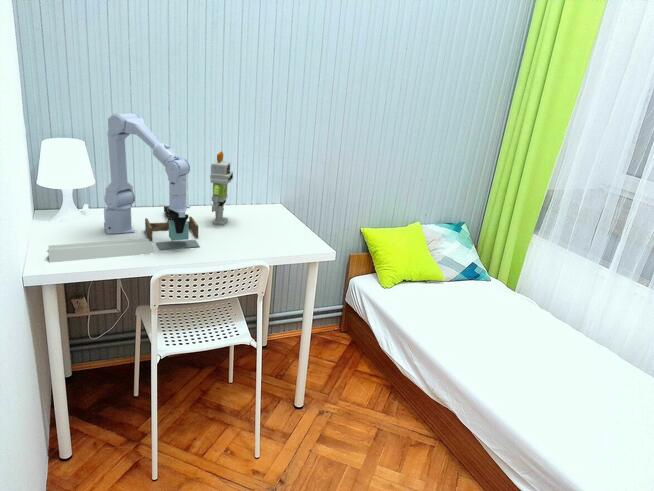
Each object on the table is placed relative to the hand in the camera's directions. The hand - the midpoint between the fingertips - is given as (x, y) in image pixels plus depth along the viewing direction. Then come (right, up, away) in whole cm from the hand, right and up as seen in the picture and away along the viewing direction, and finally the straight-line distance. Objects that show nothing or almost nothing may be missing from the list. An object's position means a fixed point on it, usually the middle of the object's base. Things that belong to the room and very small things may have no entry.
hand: (178, 230), depth 170 cm
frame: (-6, -1, +11) cm, 13 cm away
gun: (-11, +5, +28) cm, 30 cm away
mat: (-1, -5, +2) cm, 6 cm away
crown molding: (-22, -8, -10) cm, 26 cm away
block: (0, -3, +1) cm, 3 cm away
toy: (+8, +4, +31) cm, 32 cm away
